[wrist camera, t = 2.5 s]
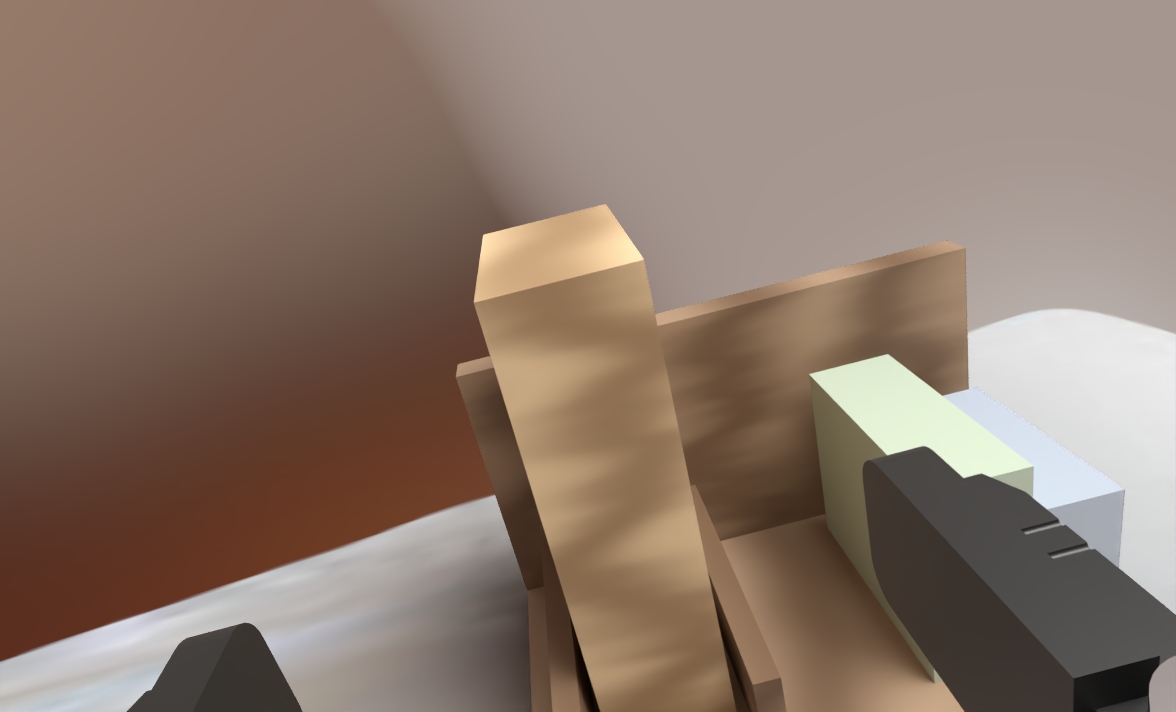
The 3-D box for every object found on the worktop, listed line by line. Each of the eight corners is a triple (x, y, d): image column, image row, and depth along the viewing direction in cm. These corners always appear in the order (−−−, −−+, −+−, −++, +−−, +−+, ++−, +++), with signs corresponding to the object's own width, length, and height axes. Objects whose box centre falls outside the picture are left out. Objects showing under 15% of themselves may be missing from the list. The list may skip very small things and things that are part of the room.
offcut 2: (1036, 642, 22) (1039, 511, 20) (918, 512, 29) (912, 403, 27) (1114, 622, 22) (1124, 489, 20) (978, 496, 29) (977, 387, 27)
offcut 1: (934, 683, 22) (924, 493, 19) (827, 527, 29) (809, 374, 27) (1030, 659, 22) (1034, 466, 19) (898, 508, 29) (887, 353, 27)
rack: (547, 880, 20) (424, 572, 16) (533, 592, 32) (458, 364, 27) (1194, 712, 21) (1245, 362, 16) (954, 485, 32) (946, 240, 27)
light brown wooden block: (612, 751, 22) (473, 302, 16) (589, 597, 29) (483, 235, 23) (738, 719, 22) (644, 259, 17) (686, 571, 29) (605, 204, 23)
